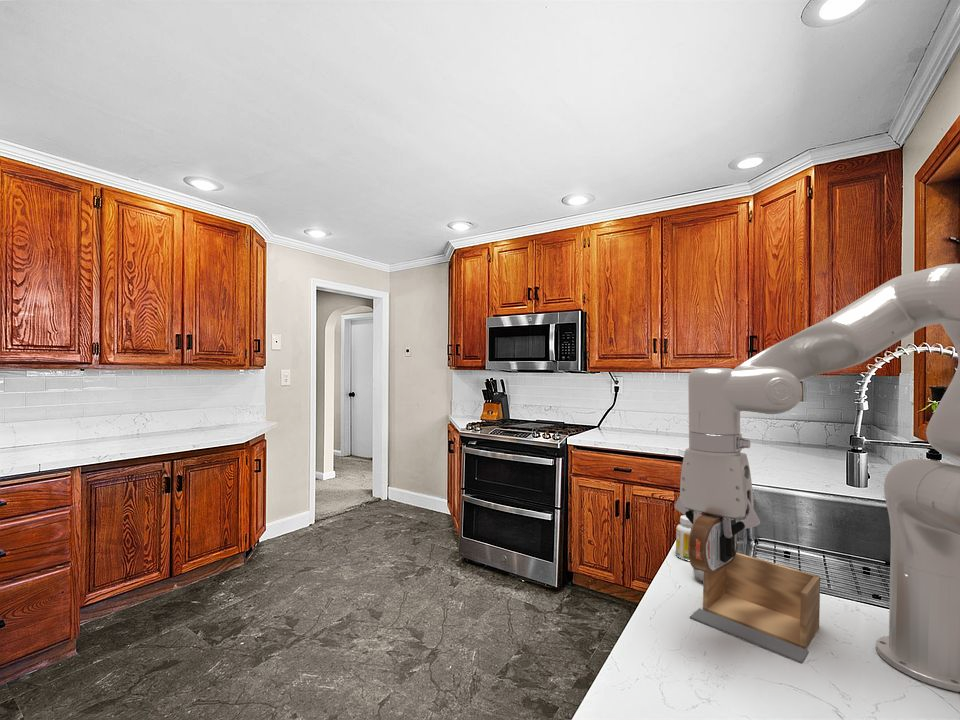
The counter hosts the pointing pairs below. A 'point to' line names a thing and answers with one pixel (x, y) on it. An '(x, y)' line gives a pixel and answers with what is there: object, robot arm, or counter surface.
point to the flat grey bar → (751, 635)
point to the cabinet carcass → (765, 598)
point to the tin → (707, 544)
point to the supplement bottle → (683, 537)
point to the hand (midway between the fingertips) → (715, 555)
